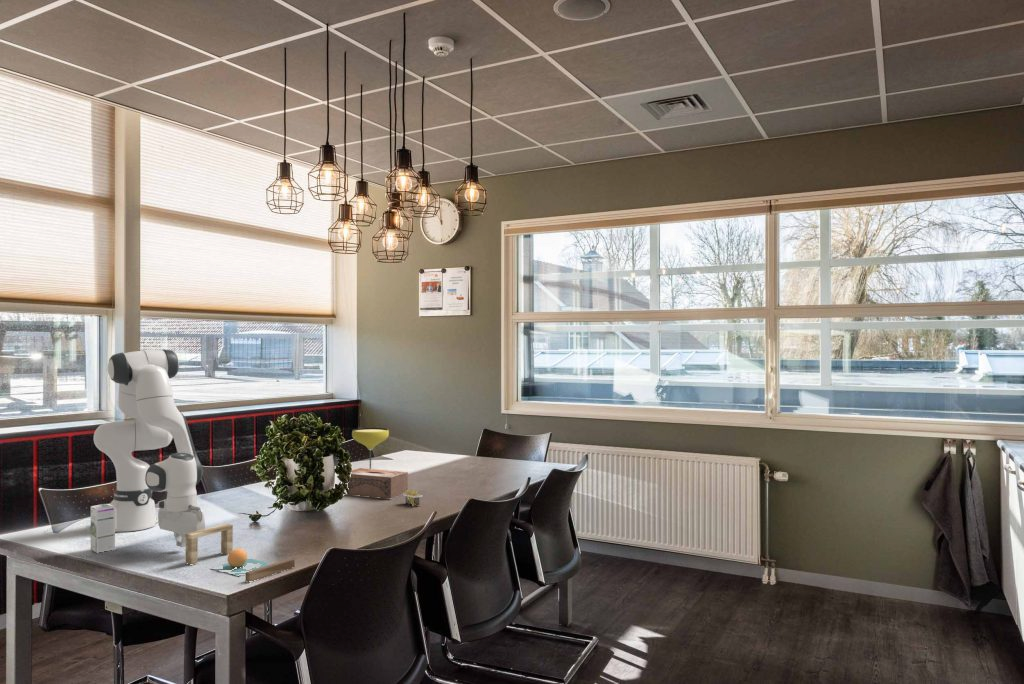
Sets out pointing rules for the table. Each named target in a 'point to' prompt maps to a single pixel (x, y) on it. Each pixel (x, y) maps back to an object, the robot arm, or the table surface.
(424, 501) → the table surface
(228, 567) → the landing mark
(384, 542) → the table surface
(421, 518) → the table surface
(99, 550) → the syrup box
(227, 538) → the bridge
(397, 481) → the tissue box cover
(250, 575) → the stopper wall
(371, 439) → the cocktail glass
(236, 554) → the ball
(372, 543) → the table surface
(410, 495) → the plastic food container
